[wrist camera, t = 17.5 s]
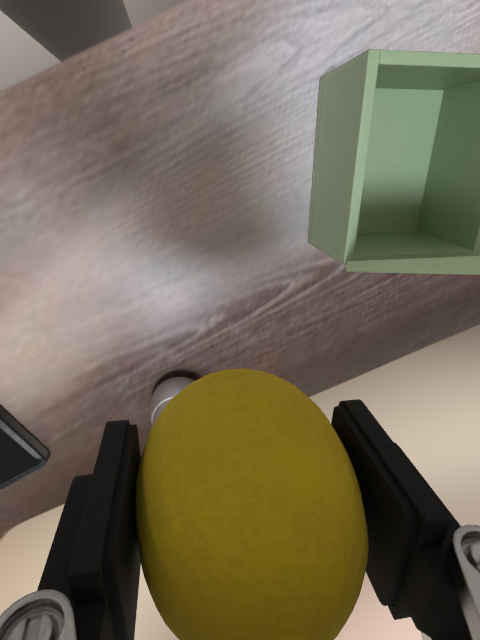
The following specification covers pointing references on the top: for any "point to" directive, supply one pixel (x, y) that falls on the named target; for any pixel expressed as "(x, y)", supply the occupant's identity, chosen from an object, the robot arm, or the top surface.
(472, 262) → the lid
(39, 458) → the phone
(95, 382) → the top surface
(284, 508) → the lemon
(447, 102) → the chest
